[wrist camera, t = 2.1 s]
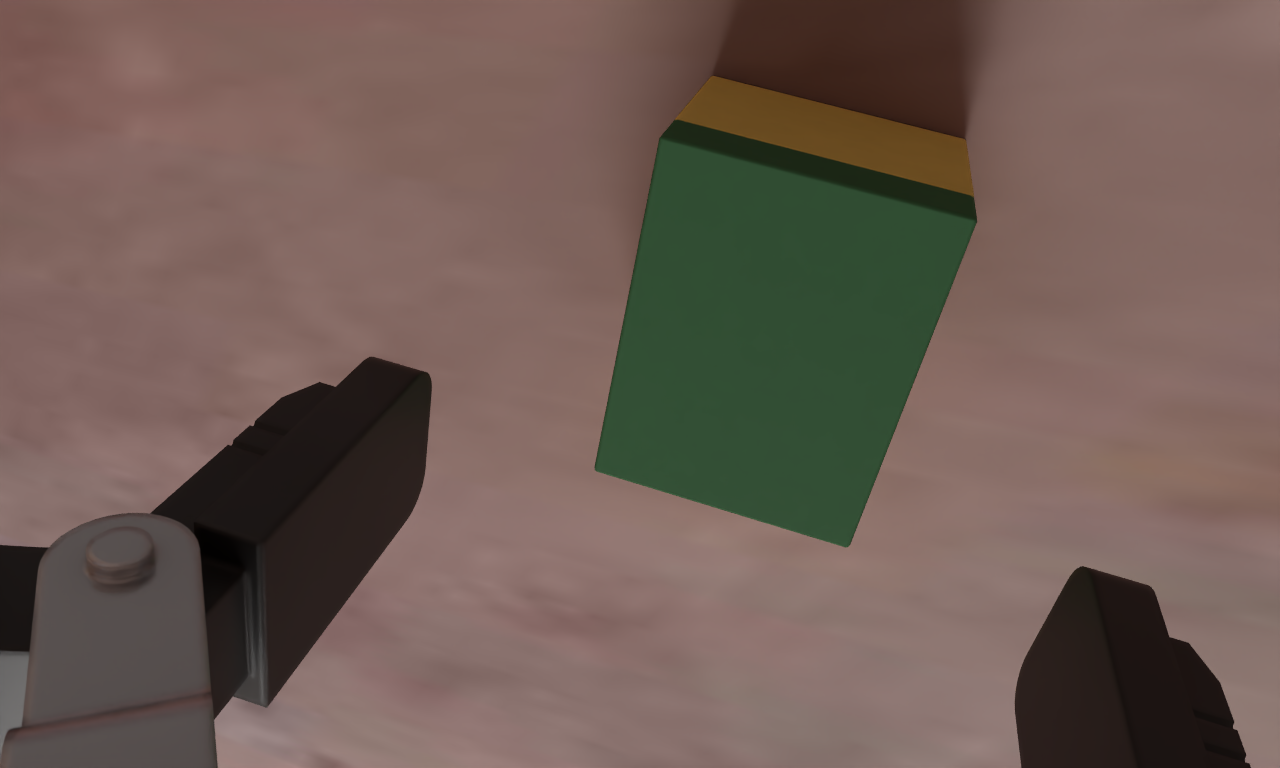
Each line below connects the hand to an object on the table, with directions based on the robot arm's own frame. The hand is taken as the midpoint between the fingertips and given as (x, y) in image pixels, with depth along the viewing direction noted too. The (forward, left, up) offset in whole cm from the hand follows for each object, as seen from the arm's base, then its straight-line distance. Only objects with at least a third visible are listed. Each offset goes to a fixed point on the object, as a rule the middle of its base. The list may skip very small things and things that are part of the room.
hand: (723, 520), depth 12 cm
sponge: (0, 0, -8) cm, 8 cm away
